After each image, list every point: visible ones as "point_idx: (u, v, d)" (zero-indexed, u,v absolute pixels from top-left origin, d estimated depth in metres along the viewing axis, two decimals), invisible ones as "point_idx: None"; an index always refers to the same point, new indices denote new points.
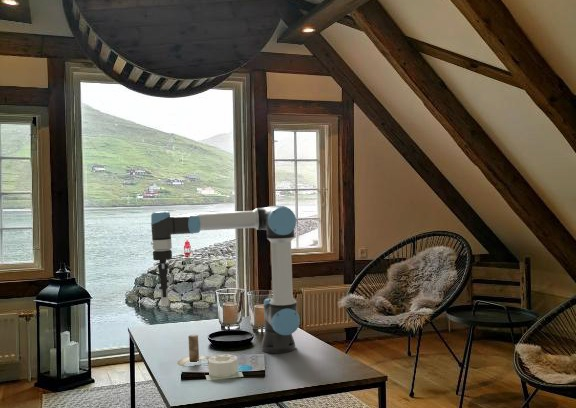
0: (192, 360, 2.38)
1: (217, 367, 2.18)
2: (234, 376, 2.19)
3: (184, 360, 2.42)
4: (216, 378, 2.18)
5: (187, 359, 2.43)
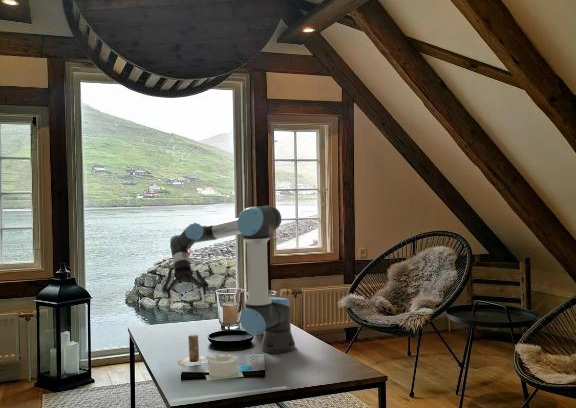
0: (192, 360, 2.38)
1: (217, 367, 2.18)
2: (234, 376, 2.19)
3: (184, 360, 2.42)
4: (216, 378, 2.18)
5: (187, 359, 2.43)
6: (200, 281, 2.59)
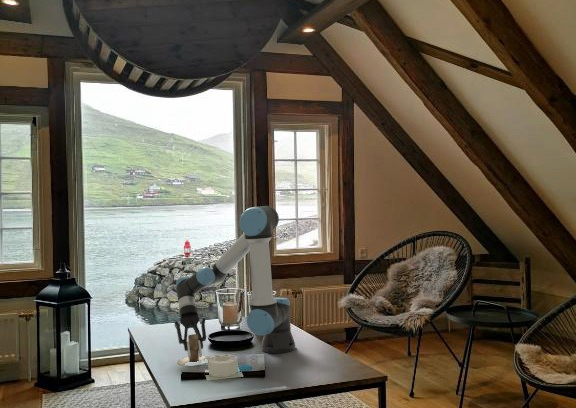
0: (192, 360, 2.38)
1: (217, 367, 2.18)
2: (234, 376, 2.19)
3: (184, 360, 2.42)
4: (216, 378, 2.18)
5: (187, 359, 2.43)
6: None
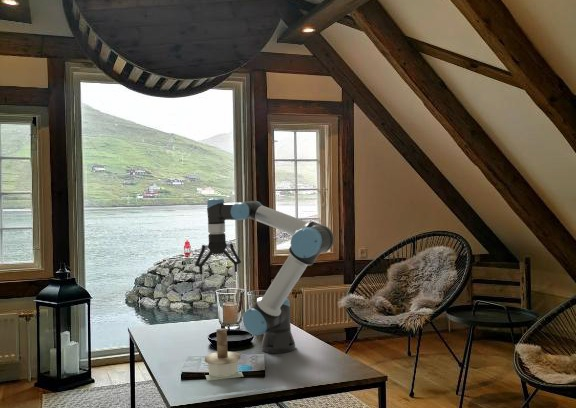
0: (222, 356, 2.22)
1: (217, 367, 2.18)
2: (234, 376, 2.19)
3: (211, 357, 2.24)
4: (216, 378, 2.18)
5: (213, 356, 2.26)
6: None
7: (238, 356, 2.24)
